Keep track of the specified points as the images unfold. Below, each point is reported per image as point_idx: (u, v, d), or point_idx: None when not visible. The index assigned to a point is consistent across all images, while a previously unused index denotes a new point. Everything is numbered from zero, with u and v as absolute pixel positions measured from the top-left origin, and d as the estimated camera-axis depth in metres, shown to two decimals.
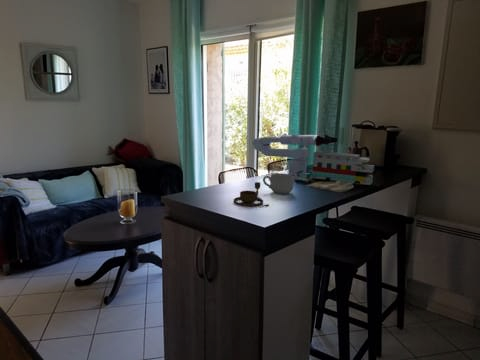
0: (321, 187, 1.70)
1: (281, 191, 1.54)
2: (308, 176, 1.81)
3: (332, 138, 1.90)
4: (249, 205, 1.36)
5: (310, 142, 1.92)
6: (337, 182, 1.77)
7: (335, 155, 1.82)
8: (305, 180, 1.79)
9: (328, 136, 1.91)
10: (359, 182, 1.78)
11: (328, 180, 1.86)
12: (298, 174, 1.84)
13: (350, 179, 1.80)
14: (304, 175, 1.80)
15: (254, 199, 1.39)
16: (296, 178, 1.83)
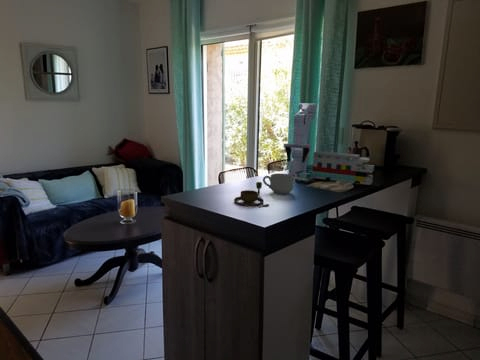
0: (321, 187, 1.70)
1: (281, 191, 1.54)
2: (308, 176, 1.81)
3: None
4: (249, 205, 1.36)
5: None
6: (337, 182, 1.77)
7: (335, 155, 1.82)
8: (305, 180, 1.79)
9: (302, 152, 1.81)
10: (359, 182, 1.78)
11: (328, 180, 1.86)
12: (298, 174, 1.84)
13: (350, 179, 1.80)
14: (304, 175, 1.80)
15: (254, 199, 1.39)
16: (296, 178, 1.83)
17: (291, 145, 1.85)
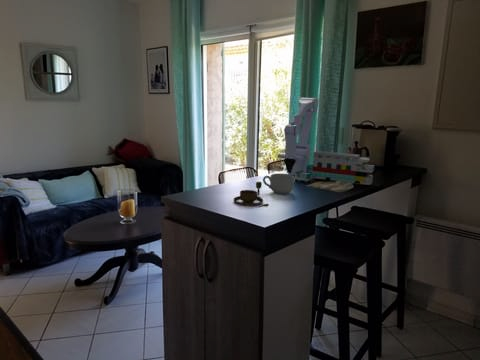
0: (321, 187, 1.70)
1: (281, 191, 1.54)
2: (308, 176, 1.81)
3: None
4: (248, 204, 1.37)
5: None
6: (337, 182, 1.77)
7: (335, 155, 1.82)
8: (305, 180, 1.79)
9: (288, 164, 1.86)
10: (359, 182, 1.78)
11: (328, 180, 1.86)
12: (298, 174, 1.84)
13: (350, 179, 1.80)
14: (304, 175, 1.80)
15: (254, 198, 1.40)
16: (296, 178, 1.83)
17: (284, 156, 1.87)
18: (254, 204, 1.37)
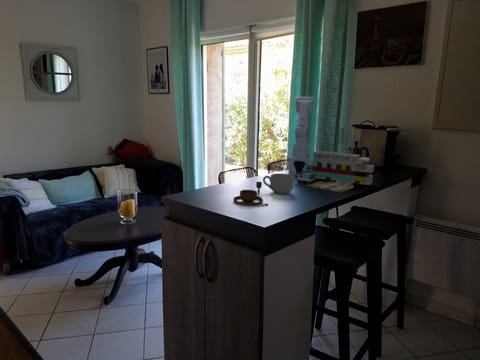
0: (321, 187, 1.70)
1: (281, 191, 1.54)
2: (311, 176, 1.80)
3: None
4: (248, 204, 1.37)
5: None
6: (337, 182, 1.77)
7: (335, 155, 1.82)
8: (308, 180, 1.78)
9: (297, 167, 1.82)
10: (359, 182, 1.78)
11: (328, 180, 1.86)
12: (301, 174, 1.83)
13: (350, 179, 1.80)
14: (307, 175, 1.79)
15: (253, 198, 1.40)
16: (299, 178, 1.82)
17: (293, 159, 1.84)
18: (254, 204, 1.38)
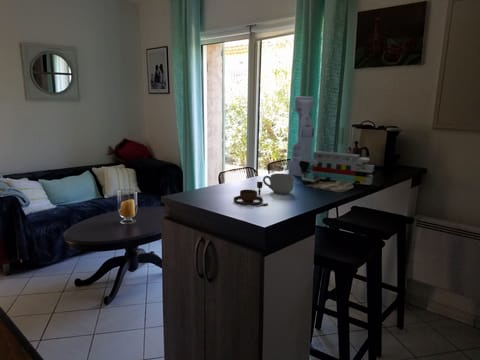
0: (321, 187, 1.70)
1: (281, 191, 1.54)
2: (315, 177, 1.79)
3: None
4: (248, 204, 1.37)
5: None
6: (337, 182, 1.77)
7: (335, 155, 1.82)
8: (312, 181, 1.77)
9: (301, 167, 1.81)
10: (359, 182, 1.78)
11: (328, 180, 1.86)
12: (305, 175, 1.81)
13: (350, 179, 1.80)
14: (311, 176, 1.78)
15: (253, 198, 1.40)
16: (303, 179, 1.80)
17: (298, 159, 1.82)
18: (253, 203, 1.38)
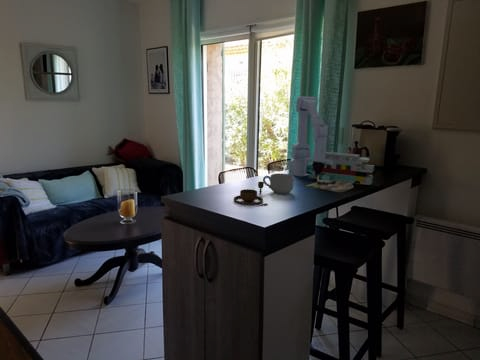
0: (321, 187, 1.70)
1: (281, 191, 1.54)
2: (331, 178, 1.73)
3: None
4: (247, 203, 1.38)
5: None
6: (337, 182, 1.77)
7: (335, 155, 1.82)
8: (328, 182, 1.71)
9: (316, 168, 1.76)
10: (359, 182, 1.78)
11: None
12: (320, 176, 1.76)
13: (350, 179, 1.80)
14: (327, 177, 1.72)
15: (253, 198, 1.41)
16: (318, 180, 1.75)
17: None
18: (253, 203, 1.38)
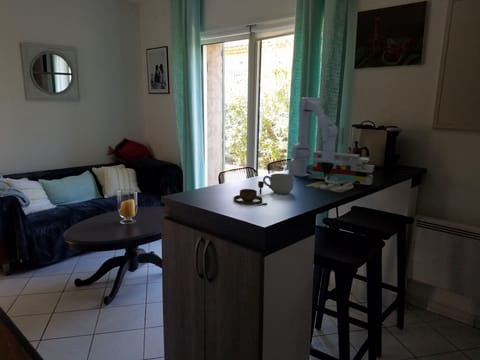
0: (321, 187, 1.70)
1: (281, 191, 1.54)
2: (339, 179, 1.70)
3: None
4: (247, 203, 1.38)
5: None
6: None
7: (335, 155, 1.82)
8: (336, 183, 1.68)
9: (325, 168, 1.73)
10: (359, 182, 1.78)
11: None
12: (328, 177, 1.73)
13: (350, 179, 1.80)
14: (335, 178, 1.69)
15: (253, 197, 1.41)
16: (326, 181, 1.72)
17: (321, 160, 1.74)
18: (252, 203, 1.39)
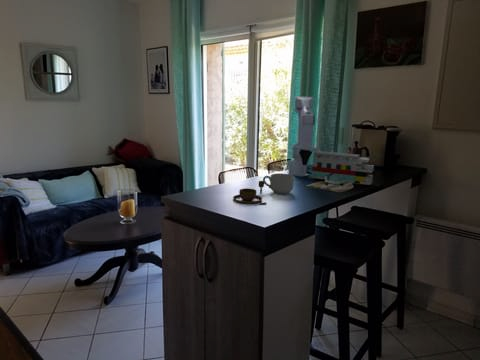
0: (321, 187, 1.70)
1: (281, 191, 1.54)
2: (339, 179, 1.70)
3: None
4: (246, 202, 1.39)
5: None
6: None
7: (335, 155, 1.82)
8: (336, 183, 1.68)
9: (303, 155, 1.77)
10: (359, 182, 1.78)
11: None
12: (328, 177, 1.73)
13: (350, 179, 1.80)
14: (335, 178, 1.69)
15: (252, 197, 1.42)
16: (326, 181, 1.72)
17: None
18: (252, 202, 1.40)
